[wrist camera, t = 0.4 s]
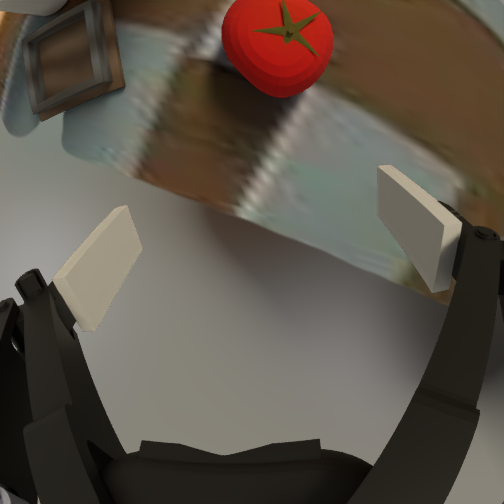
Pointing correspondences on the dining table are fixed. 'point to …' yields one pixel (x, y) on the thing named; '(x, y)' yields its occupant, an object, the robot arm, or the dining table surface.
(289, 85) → the tomato
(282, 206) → the dining table surface
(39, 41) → the bottle stand
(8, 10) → the milk bottle
